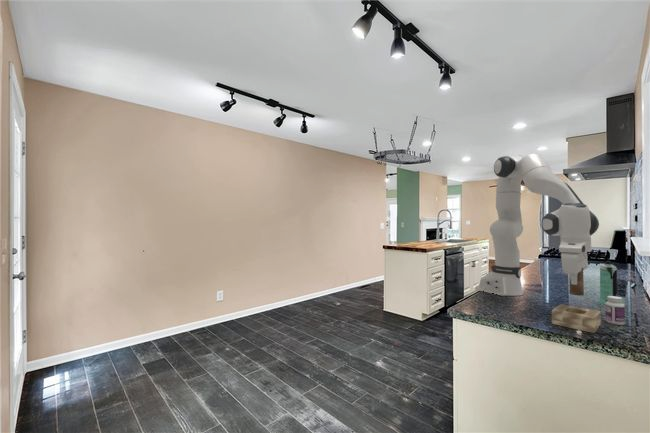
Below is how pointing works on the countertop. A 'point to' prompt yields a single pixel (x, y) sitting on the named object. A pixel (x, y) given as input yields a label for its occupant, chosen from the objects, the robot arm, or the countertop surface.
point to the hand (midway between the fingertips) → (576, 283)
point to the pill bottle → (615, 310)
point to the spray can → (607, 282)
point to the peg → (579, 287)
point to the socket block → (576, 318)
